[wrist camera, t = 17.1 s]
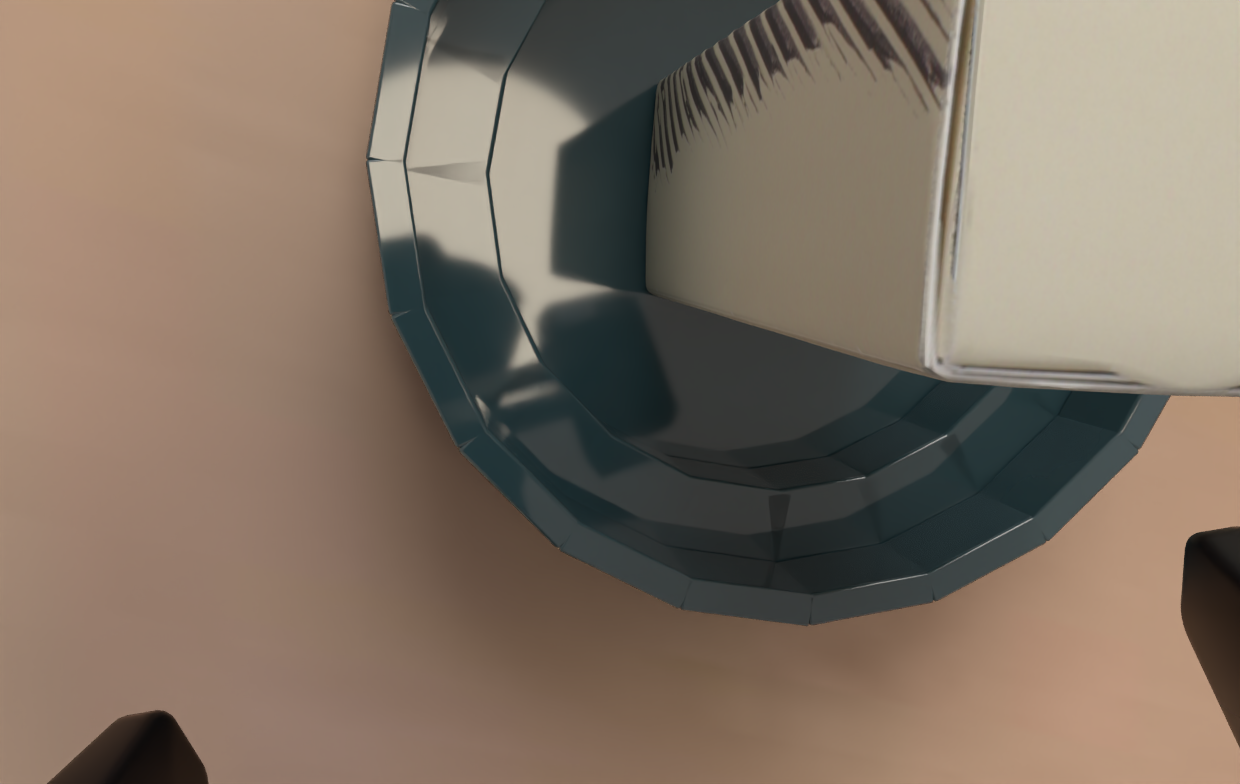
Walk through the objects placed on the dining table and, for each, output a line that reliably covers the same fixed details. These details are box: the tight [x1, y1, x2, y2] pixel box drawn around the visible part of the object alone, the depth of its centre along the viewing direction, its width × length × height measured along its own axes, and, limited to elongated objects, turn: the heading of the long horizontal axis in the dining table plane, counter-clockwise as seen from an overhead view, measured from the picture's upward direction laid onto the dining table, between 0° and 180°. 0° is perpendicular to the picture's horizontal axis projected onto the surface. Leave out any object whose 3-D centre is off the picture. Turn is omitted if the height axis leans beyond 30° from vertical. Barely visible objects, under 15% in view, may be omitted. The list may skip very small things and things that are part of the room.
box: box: [646, 0, 1240, 397], centre depth 15 cm, size 5×4×13 cm
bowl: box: [366, 0, 1171, 626], centre depth 20 cm, size 15×15×4 cm
